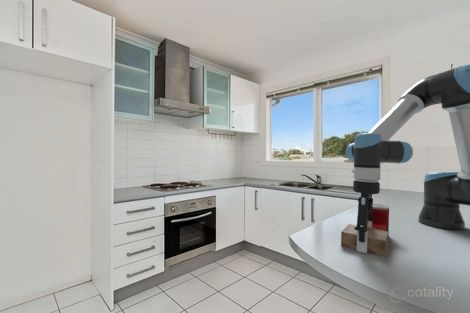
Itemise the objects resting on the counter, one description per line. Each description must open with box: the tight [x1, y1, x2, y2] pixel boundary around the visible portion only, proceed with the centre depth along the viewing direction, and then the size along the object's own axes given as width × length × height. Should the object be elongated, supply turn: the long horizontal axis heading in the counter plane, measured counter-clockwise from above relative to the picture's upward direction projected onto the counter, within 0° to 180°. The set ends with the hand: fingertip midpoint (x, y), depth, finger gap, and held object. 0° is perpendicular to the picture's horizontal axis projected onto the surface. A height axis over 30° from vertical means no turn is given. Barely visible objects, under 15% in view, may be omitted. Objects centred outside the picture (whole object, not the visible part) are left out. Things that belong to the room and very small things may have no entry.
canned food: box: [370, 203, 390, 232], centre depth 85 cm, size 8×8×11 cm
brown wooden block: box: [340, 223, 390, 258], centre depth 74 cm, size 12×11×5 cm
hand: (364, 245), depth 74 cm, fingers open, 13 cm apart
